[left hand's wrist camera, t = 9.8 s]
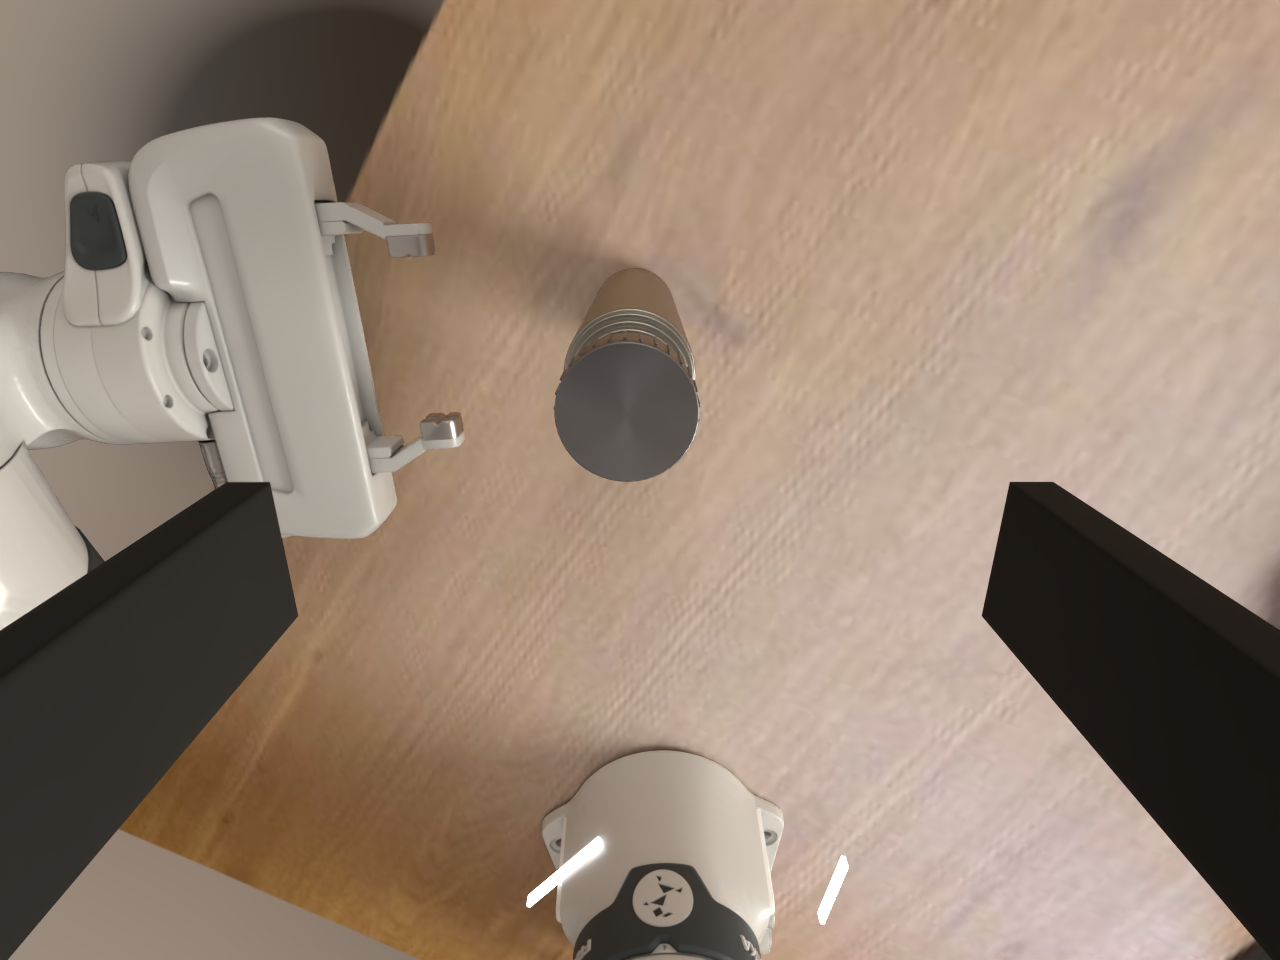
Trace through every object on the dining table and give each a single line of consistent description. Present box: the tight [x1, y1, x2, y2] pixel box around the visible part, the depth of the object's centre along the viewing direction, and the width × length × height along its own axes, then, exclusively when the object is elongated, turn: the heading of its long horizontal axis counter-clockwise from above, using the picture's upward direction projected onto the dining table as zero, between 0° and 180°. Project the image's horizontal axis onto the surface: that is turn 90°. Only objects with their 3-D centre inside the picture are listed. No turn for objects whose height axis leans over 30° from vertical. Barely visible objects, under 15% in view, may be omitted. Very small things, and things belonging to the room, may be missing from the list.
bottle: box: [564, 268, 696, 380], centre depth 30 cm, size 5×5×22 cm
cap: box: [554, 331, 700, 482], centre depth 20 cm, size 4×4×2 cm
